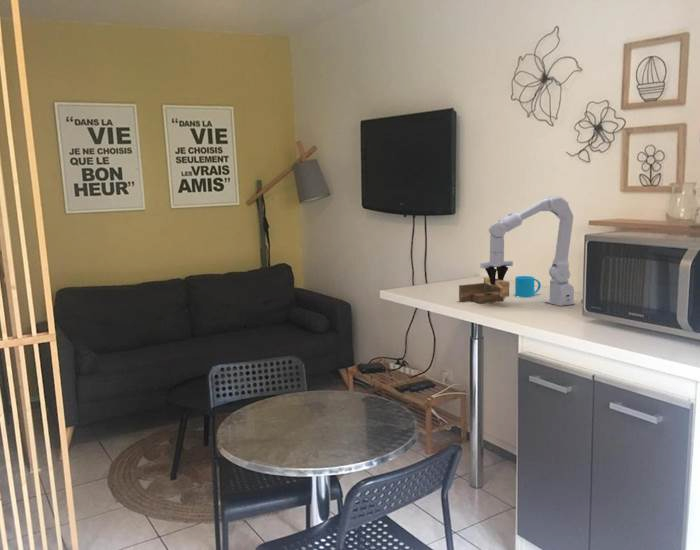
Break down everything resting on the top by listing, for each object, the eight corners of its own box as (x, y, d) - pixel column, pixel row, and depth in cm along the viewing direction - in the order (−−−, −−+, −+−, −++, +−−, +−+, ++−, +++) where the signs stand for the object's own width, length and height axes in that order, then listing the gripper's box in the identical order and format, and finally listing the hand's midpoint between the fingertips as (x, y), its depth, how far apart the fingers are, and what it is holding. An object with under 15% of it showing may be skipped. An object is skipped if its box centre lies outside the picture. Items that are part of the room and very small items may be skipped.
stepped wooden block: (513, 299, 271) (513, 283, 270) (469, 304, 263) (469, 288, 262) (502, 296, 279) (502, 281, 278) (459, 301, 271) (459, 285, 270)
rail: (509, 296, 258) (509, 282, 257) (502, 297, 257) (503, 282, 256) (489, 290, 271) (489, 276, 270) (483, 291, 270) (483, 277, 269)
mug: (521, 297, 275) (521, 279, 274) (511, 294, 283) (511, 276, 282) (545, 295, 278) (545, 277, 277) (535, 292, 286) (535, 274, 285)
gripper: (505, 249, 267) (505, 281, 269) (476, 251, 262) (476, 284, 264) (516, 251, 261) (515, 283, 263) (486, 253, 255) (485, 286, 257)
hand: (496, 284), depth 263 cm, fingers closed on rail, 3 cm apart
